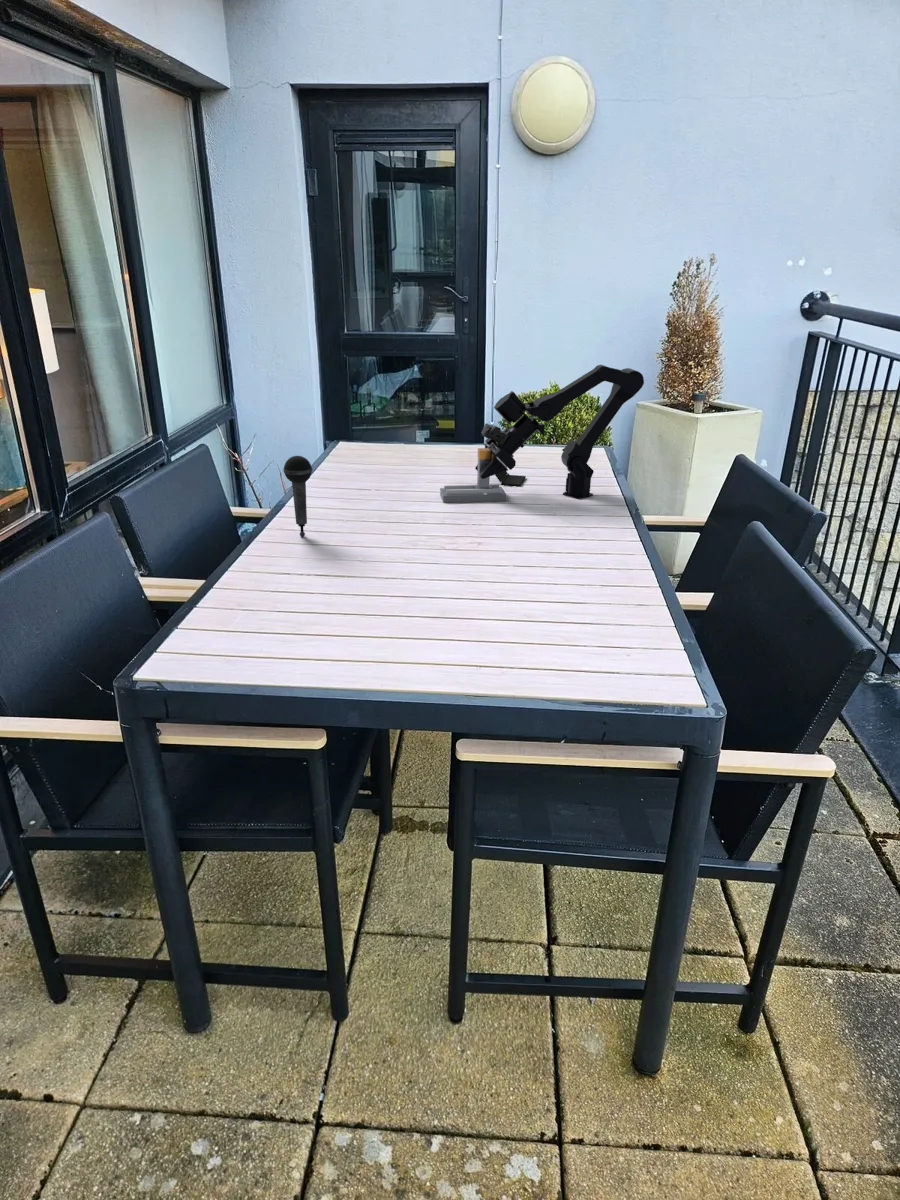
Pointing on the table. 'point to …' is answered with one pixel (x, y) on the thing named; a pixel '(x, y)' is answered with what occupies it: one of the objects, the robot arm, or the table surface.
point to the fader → (483, 468)
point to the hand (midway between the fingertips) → (478, 473)
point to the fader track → (471, 494)
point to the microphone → (299, 486)
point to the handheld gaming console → (510, 479)
